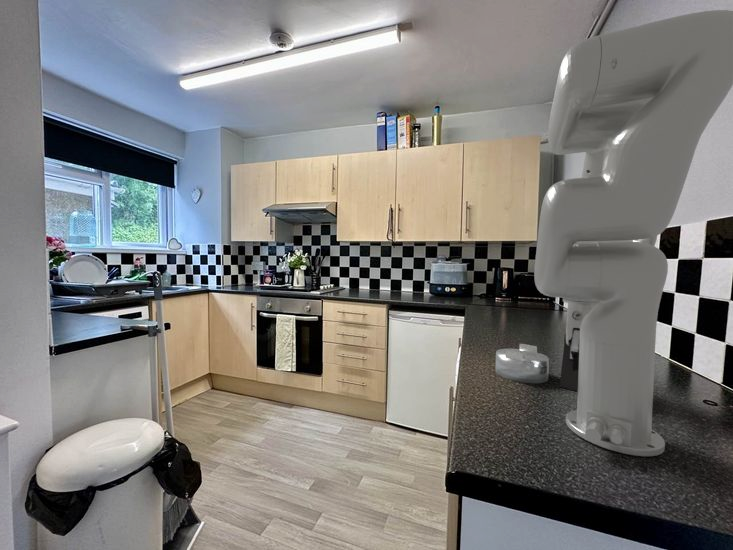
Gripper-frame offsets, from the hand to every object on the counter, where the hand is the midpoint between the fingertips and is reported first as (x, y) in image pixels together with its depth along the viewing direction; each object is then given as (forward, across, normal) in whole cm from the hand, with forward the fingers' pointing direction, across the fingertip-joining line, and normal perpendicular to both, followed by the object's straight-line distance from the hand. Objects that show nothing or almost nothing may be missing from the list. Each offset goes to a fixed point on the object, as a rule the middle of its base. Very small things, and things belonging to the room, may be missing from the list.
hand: (579, 374), depth 71 cm
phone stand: (+3, 0, 0) cm, 3 cm away
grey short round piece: (+3, -2, +12) cm, 12 cm away
